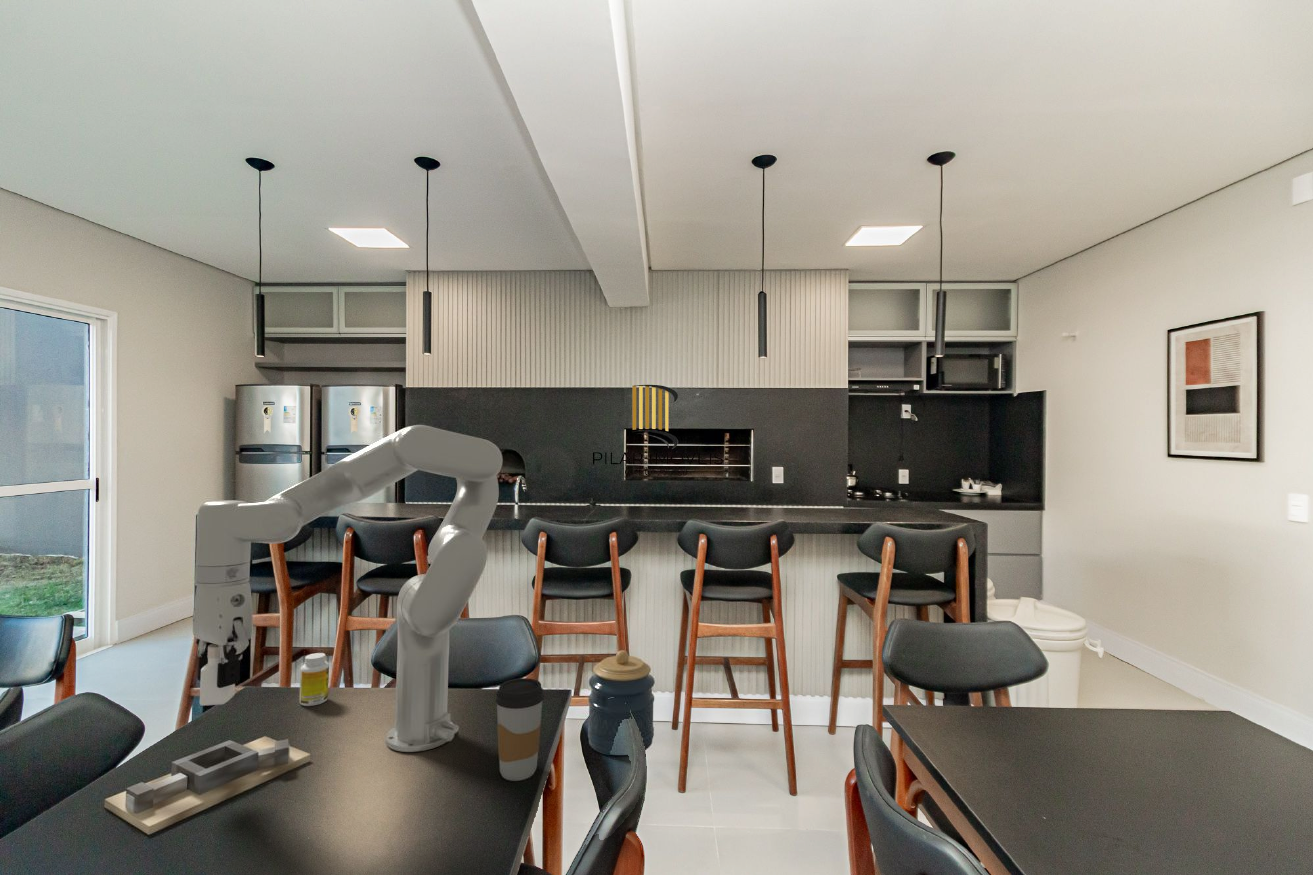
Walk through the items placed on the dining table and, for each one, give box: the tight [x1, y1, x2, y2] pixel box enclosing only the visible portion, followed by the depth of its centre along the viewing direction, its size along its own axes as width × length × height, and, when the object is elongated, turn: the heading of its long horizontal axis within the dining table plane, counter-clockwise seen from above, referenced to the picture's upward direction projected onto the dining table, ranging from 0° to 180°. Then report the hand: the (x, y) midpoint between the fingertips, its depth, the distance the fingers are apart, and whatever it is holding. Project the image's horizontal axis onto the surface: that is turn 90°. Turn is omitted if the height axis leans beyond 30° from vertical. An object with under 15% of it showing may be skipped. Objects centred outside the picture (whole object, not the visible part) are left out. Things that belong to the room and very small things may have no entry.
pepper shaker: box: [199, 641, 236, 706], centre depth 101 cm, size 4×4×10 cm
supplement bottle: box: [299, 652, 330, 707], centre depth 133 cm, size 6×6×10 cm
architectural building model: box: [103, 735, 311, 836], centre depth 100 cm, size 24×14×4 cm, turn 152°
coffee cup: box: [495, 677, 545, 782], centre depth 105 cm, size 8×8×15 cm
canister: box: [587, 649, 656, 756], centre depth 117 cm, size 13×13×18 cm
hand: (218, 680), depth 101 cm, fingers closed on pepper shaker, 5 cm apart
